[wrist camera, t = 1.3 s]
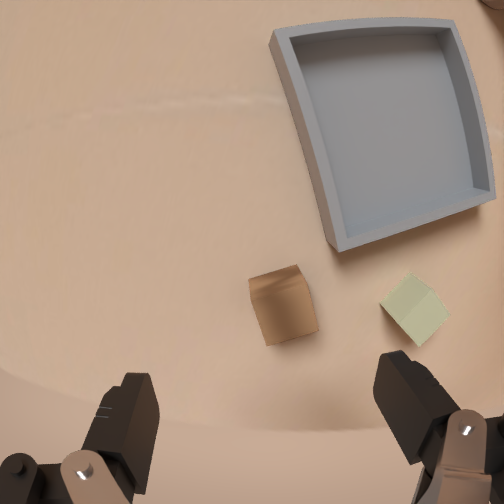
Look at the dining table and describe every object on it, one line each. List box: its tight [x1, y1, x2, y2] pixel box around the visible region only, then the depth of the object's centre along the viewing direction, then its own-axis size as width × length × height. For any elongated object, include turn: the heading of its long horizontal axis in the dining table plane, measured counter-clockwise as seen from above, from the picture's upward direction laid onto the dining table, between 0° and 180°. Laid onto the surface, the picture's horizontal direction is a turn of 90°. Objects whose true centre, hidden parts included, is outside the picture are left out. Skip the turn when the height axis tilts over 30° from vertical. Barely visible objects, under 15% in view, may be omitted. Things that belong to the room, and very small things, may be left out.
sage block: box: [380, 272, 450, 347], centre depth 31 cm, size 5×5×5 cm
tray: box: [269, 17, 496, 252], centre depth 26 cm, size 20×20×4 cm
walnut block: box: [249, 264, 319, 346], centre depth 30 cm, size 5×5×5 cm
